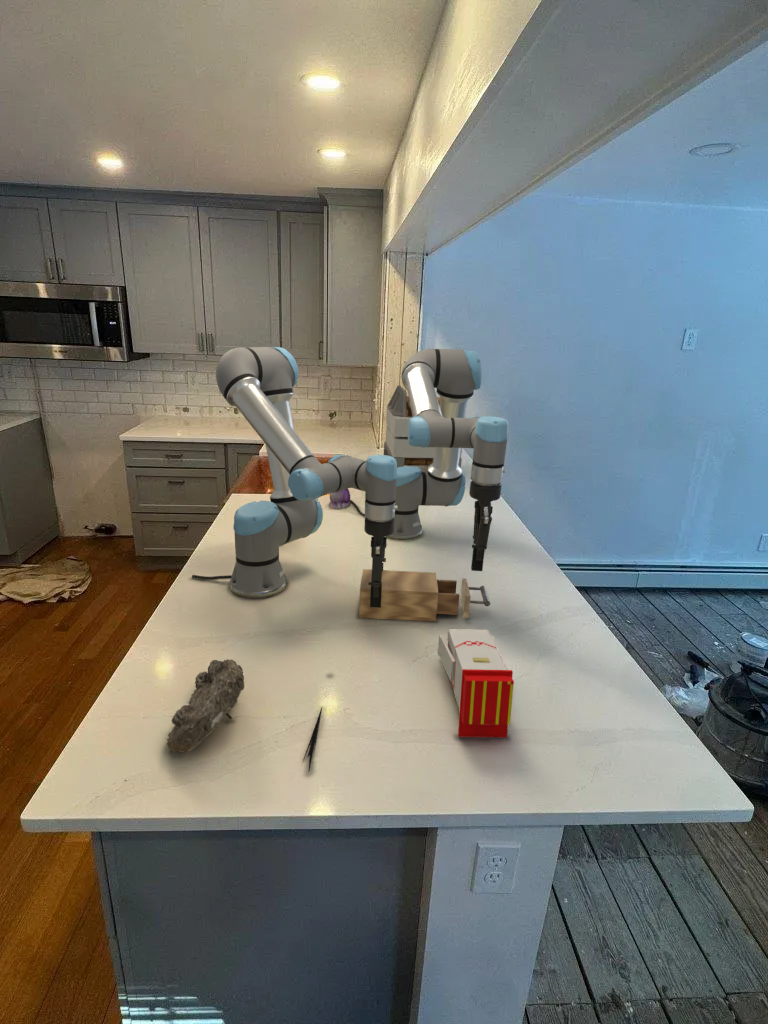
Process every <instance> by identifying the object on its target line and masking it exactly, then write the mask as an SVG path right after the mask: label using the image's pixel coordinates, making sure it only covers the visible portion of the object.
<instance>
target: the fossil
mask: <svg viewBox="0 0 768 1024" xmlns="http://www.w3.org/2000/svg"><path fill="white" fill-rule="evenodd" d="M243 670H244V669H243V667H242V665H240V664H237V662H236V661H235V660H234V659H232V658H231V659H227V658H226V659H224V660H223V661H222V660H217V659H212V660H211V661H210V663H209V665H208V666H207V671H201V672H199V673H198V674H197V675H196V676H195V680H194V684H195V685H194V687H195V689H194V690H193V693H192V694H191V697H190V698H189V700H188V704H184V705H182V706H181V707H180V709H177V710H176V711H175V713H174V715H173V716H172V718H171V723H172V724H173V727H172V730H171V731H170V732H168V734H167V738H166V741H167V742H166V745H167V749H168V750H169V751H173V752H174V753H176V754H178V753H182V752H188V751H189V752H192V751H193V750H195V748H196V747H197V746H199V744H200V743H201V742H203V741H204V740H205V739H206V738H207V737H208V736H209V735H210V734H211V733H212V732H214V730H215V729H217V727H218V726H219V724H220V722H221V721H222V720H223V719H224V718H225V716H226V717H227V719H229V720H233V717H232V715H230V714H229V710H230V709H231V708H234V706H235V704H236V703H237V702H238V699H239V697H240V695H241V693H242V691H243V690H245V689H244V688H245V675H244V671H243Z"/></svg>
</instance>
